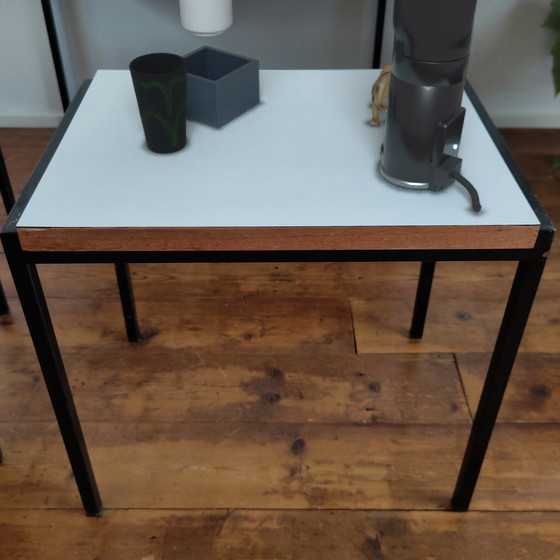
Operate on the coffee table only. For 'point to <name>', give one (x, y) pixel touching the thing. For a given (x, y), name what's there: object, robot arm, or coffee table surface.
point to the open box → (220, 85)
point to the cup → (161, 99)
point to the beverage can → (206, 16)
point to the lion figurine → (380, 93)
